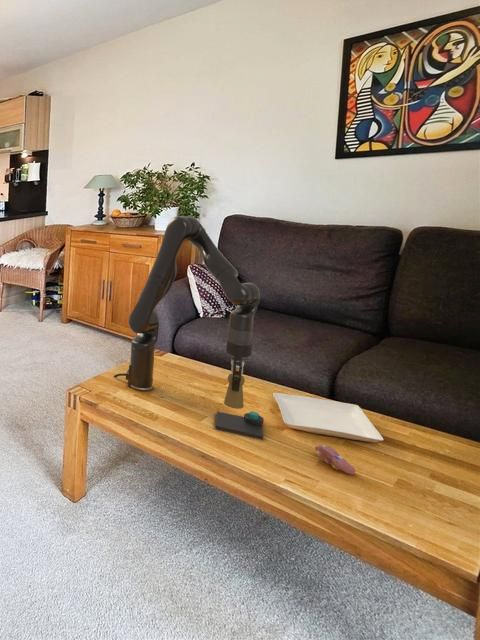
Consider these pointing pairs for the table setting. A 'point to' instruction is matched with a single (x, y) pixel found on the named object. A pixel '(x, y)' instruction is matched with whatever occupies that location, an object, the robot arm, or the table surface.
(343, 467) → the pink tapered lump
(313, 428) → the square plate
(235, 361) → the robot arm
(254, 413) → the button
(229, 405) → the cork
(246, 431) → the scale
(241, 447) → the table surface
